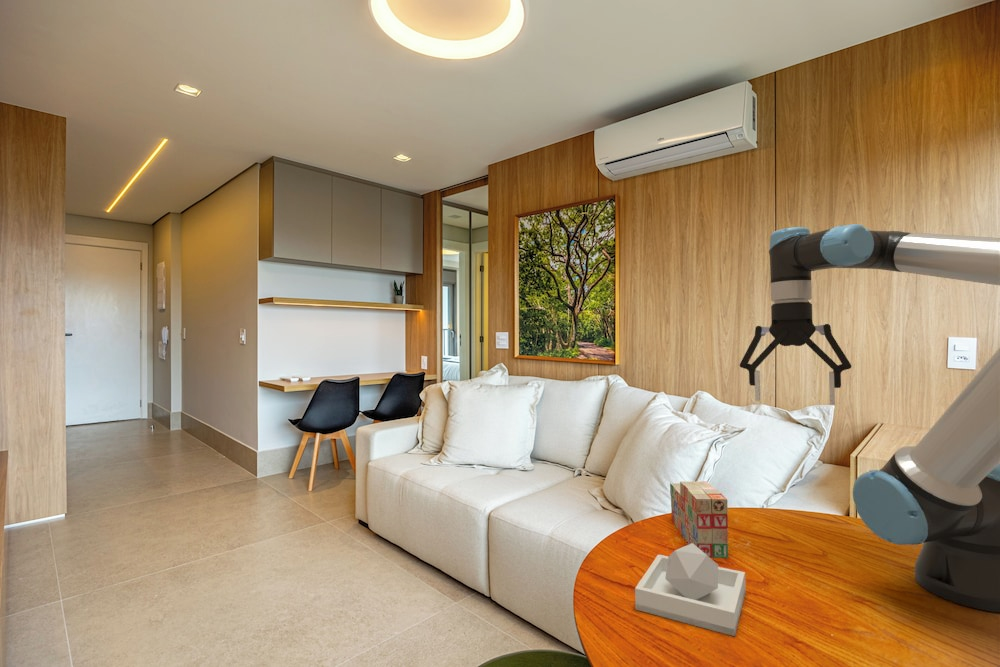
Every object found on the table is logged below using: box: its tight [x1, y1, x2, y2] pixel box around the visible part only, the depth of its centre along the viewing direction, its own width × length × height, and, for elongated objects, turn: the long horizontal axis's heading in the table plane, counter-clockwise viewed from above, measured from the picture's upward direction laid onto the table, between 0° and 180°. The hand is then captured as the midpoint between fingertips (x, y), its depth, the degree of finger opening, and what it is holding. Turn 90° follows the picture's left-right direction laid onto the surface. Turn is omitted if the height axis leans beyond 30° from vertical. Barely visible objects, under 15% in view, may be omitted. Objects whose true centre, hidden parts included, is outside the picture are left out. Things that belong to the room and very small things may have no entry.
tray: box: [634, 554, 746, 637], centre depth 85 cm, size 15×15×4 cm
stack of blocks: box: [669, 480, 729, 559], centre depth 112 cm, size 21×6×12 cm, turn 175°
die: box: [665, 543, 719, 600], centre depth 85 cm, size 8×9×10 cm
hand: (793, 402), depth 106 cm, fingers open, 13 cm apart
